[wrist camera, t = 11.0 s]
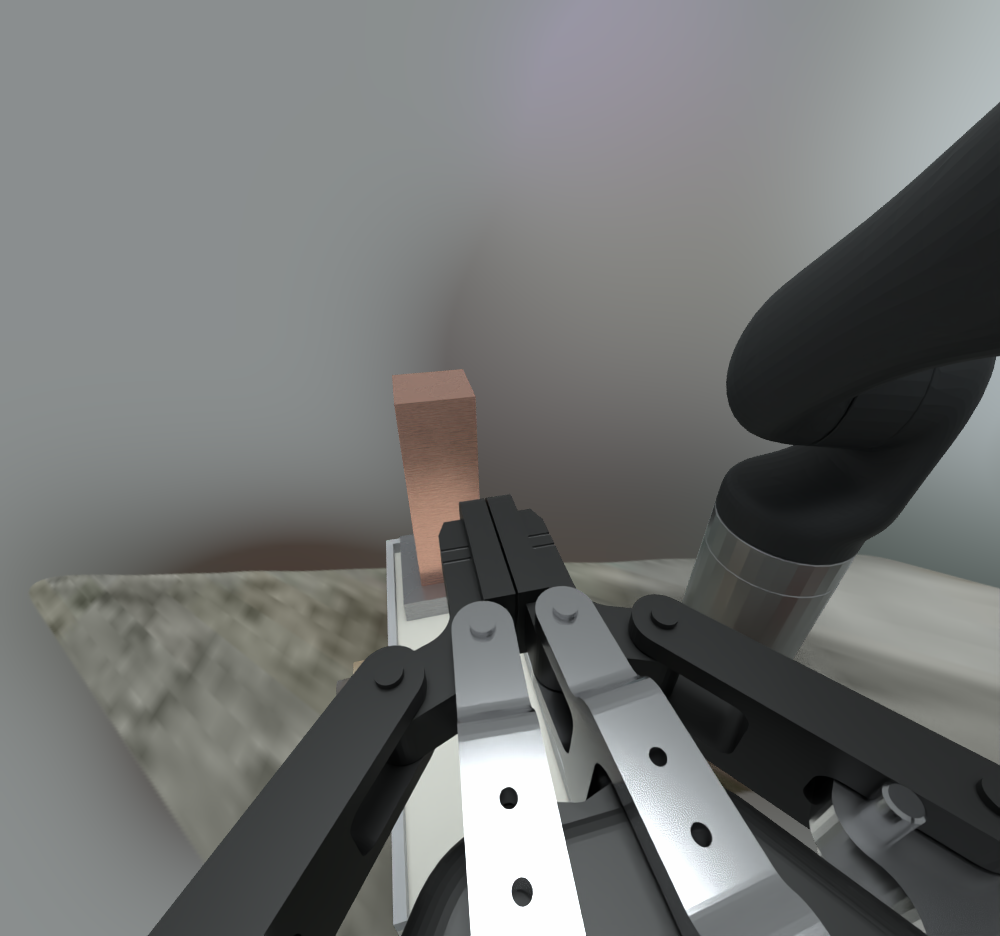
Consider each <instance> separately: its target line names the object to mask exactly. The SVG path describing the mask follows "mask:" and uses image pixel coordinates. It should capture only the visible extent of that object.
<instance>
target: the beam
mask: <svg viewBox="0 0 1000 936" xmlns="http://www.w3.org/2000/svg"><path fill="white" fill-rule="evenodd" d="M386 552H387V553H386V554H387V609H388V646H393V645H400V646H405V647H408V648H411V649H412V650H414V651H415V650H417V649H418V648H420V647H422V646H424V645H426V644H428V643H429V642H431V641H433V640H434V639H435V638H437V637H438V636H439V635H440V634H441V633H442V632H443V630H444V629H445V628H446V626H447V624H448V621H449V618H450V617H449V613H448V614H443V615H437V616H432V617H427V618H422V619H417V620H411V621H407V619H406V614H405V609H404V601H403V584H402V568H401V551H400V538H399V539H393V540H387V541H386ZM520 656H521V661H522V666H523V671H524V676H525V680H526V685H527V690H528V695H529V699H530V703H531V706H532V708H534V709H535V711H536V714H537V717H538V720H539V724H540V729H541V733H542V738H543V742H544V747H545V752H546V756H547V761H548V765H549V770H550V774H551V779H552V784H553V788H554V793H555V797H556V802H572V801H571V798H570V795H569V791H568V788H567V784H566V779H565V772H564V767H563V763H562V759H561V756H560V754H559V751H558V748H557V746H556V743H555V741H554V738H553V735H552V733H551V730H550V728H549V725H548V722H547V720H546V717H545V715H544V712H543V709H542V707H541V704H540V702H539V699H538V697H537V694H536V691H535V689H534V686H533V683H532V679H531V672H532V665H531V662H530V659H529V656H528V652H527V653H522V654H520ZM464 836H465V835H464V820H463V805H462V790H461V775H460V760H459V745H458V734H457V735H455V736H454V737H452V738H451V739H449V740H448V741H446V742H445V743H443V744H442V745H440V746H439V747H437V748H436V749H435V750H434V753H433V755H432V757H431V759H430V761H429V763H428V764H427V766H426V768H425V770H424V772H423V774H422V775H421V777H420V779H419V781H418V783H417V785H416V787H415V788H414V790H413V792H412V794H411V796H410V798H409V800H408V801H407V803H406V805H405V807H404V809H403V811H402V813H401V814H400V816H399V818H398V820H397V822H396V824H395V826H394V827H393V829H392V877H393V925H394V927H395V929H396V931H397V933H398V935H399V936H401V935H402V932H403V930H404V928H405V925H406V923H407V920H408V918H409V916H410V913H411V911H412V909H413V906H414V904H415V902H416V899H417V897H418V895H419V893H420V891H421V889H422V887H423V886H424V884H425V882H426V880H427V878H428V877H429V875H430V874H431V872H432V871H433V869H434V868H435V866H436V865H437V864H438V862H439V861H440V860H441V858H442V857H443V856H444V855H445V854H446V853H447V852H448V851H449V849H450V848H451V847H453V846H454V845H455V844H456V843H457V842H458V841H459V840H460V839H462V838H463V837H464Z"/></svg>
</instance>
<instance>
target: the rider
mask: <svg viewBox="0 0 1000 936" xmlns="http://www.w3.org/2000/svg"><path fill="white" fill-rule="evenodd" d="M392 379H393V393H394V406H395V412H396V419H397V425H398V432H399V439H400V445H401V452H402V459H403V466H404V472H405V479H406V485H407V492H408V499H409V505H410V512H411V519H412V525H413V532H414V534H413V535H407V536H401V537H400V551H401V568H402V584H403V601H404V609H405V614H406V619H407V621H411V620H417V619H422V618H427V617H432V616H437V615H443V614H448V613H449V611H448V604H447V598H446V592H445V585H444V579H443V573H442V564H441V555H440V547H439V538H438V535H439V533H440V530H441V528H442V525H443V523H444V522H449V521H455V520H460V515H459V502H462V501H468V500H475V499H479V477H478V476H479V475H478V450H477V425H476V399H475V395H474V392H473V390H472V388H471V386H470V384H469V382H468V379H467V377H466V375H465V373H464V371H463V369H459V370H448V371H436V372H425V373H413V374H402V375H392Z"/></svg>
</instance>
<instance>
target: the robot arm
mask: <svg viewBox="0 0 1000 936" xmlns="http://www.w3.org/2000/svg"><path fill="white" fill-rule="evenodd" d="M996 356H1000V102H999V103H998V104H997V105H996V106H995V107H994V108H993V109H992V110H991V111H989V112H988V113H987V114H986V115H985V116H984V117H983V118H982V119H981V120H979V121H978V122H977V123H976V124H975V125H974V126H973V127H972V128H971V129H970V130H969V131H967V132H966V133H965V134H964V135H963V136H962V137H961V138H960V139H959V140H957V141H956V142H955V143H954V144H953V145H952V146H951V147H950V148H949V149H948V150H946V151H945V152H944V153H943V154H942V155H941V156H940V157H939V158H938V159H936V160H935V161H934V162H933V163H932V164H931V165H930V166H929V167H928V168H927V169H925V170H924V171H923V172H922V173H921V174H920V175H919V176H918V177H916V179H914V180H913V181H912V182H911V183H910V184H909V185H907V186H906V187H905V188H904V189H903V190H902V191H900V192H899V193H898V194H897V195H896V196H895V197H893V198H892V199H891V200H890V201H889V202H887V203H886V204H885V205H884V206H883V207H881V208H880V209H879V210H878V211H877V212H875V213H874V214H873V215H872V216H871V217H869V218H868V219H867V220H866V221H865V222H863V223H862V224H861V225H859V226H858V227H857V228H856V229H854V230H853V231H852V232H851V233H849V234H848V235H847V236H846V237H844V238H843V239H842V240H840V241H839V242H838V243H837V244H835V245H834V246H833V247H831V248H830V249H829V250H828V251H826V252H825V253H824V254H822V255H821V256H820V257H819V258H817V259H816V260H815V261H813V262H812V263H811V264H810V265H808V266H807V267H806V268H804V269H803V270H802V271H801V272H799V273H798V274H797V275H796V276H794V277H793V278H792V279H791V280H790V281H788V282H787V283H786V284H785V285H783V286H782V287H781V288H780V289H779V290H778V291H777V292H775V293H774V294H773V295H772V296H771V297H770V298H769V299H768V300H767V301H766V302H765V304H764V305H763V306H762V307H761V308H760V309H759V310H758V312H757V313H756V314H755V315H754V317H753V318H752V320H751V321H750V323H749V324H748V325H747V327H746V329H745V330H744V331H743V333H742V335H741V337H740V339H739V341H738V343H737V345H736V347H735V349H734V352H733V354H732V357H731V360H730V363H729V368H728V373H727V381H726V386H727V397H728V402H729V406H730V408H731V411H732V413H733V415H734V417H735V418H736V419H737V420H738V422H739V423H740V424H741V425H742V426H743V427H744V428H745V429H746V430H747V431H749V432H750V433H752V434H754V435H756V436H758V437H760V438H763V439H766V440H769V441H774V442H779V443H784V444H789V445H793V446H791V447H788V448H785V449H782V450H780V451H776V452H772V453H768V454H764V455H760V456H756V457H753V458H749V459H746V460H744V461H742V462H740V463H738V464H736V465H735V466H733V467H732V468H731V469H730V470H729V471H728V472H727V474H726V475H725V477H724V479H723V481H722V484H721V486H720V489H719V492H718V495H717V498H716V501H715V504H714V507H713V510H712V513H711V516H710V519H709V522H708V525H707V529H706V532H705V535H704V538H703V541H702V544H701V547H700V550H699V553H698V556H697V559H696V562H695V564H694V567H693V570H692V573H691V576H690V579H689V582H688V585H687V588H686V591H685V594H684V597H683V600H682V603H681V602H679V601H677V600H675V599H672V598H670V597H667V596H663V595H655V594H654V595H647V596H644V597H641V598H640V599H638V600H637V601H636V602H635V604H634V606H633V608H624V607H613V606H605V605H601V604H597V603H595V602H592V601H591V600H590V598H589V597H588V596H587V595H586V594H584V593H583V592H581V591H579V590H578V589H576V587H575V586H574V584H573V582H572V580H571V578H570V575H569V573H568V571H567V569H566V567H565V565H564V563H563V561H562V559H561V557H560V555H559V553H558V550H557V548H556V546H554V542H553V540H552V538H551V536H550V535H549V532H548V530H547V527H546V525H545V523H544V521H543V519H542V518H541V517H539V516H538V515H537V514H536V513H535V512H533V511H532V510H531V509H527V510H520V511H517V509H516V506H515V504H514V501H513V499H512V496H511V495H502V496H495V497H488V498H485V499H484V498H482V499H475V500H468V501H462V502H459V515H460V520H455V521H449V522H444V523H443V525H442V528H441V530H440V533H439V535H438V538H439V547H440V555H441V564H442V573H443V579H444V585H445V592H446V598H447V604H448V611H449V617H450V618H449V621H448V624H447V626H446V628H445V629H444V630H443V632H442V633H441V634H440V635H439V636H438V637H437V638H435V639H434V640H433V641H431V642H429V643H428V644H426V645H424V646H422V647H420V648H418V649H417V650H415V651H414V650H412V649H411V648H408V647H405V646H400V645H393V646H387V647H384V648H381V649H379V650H377V651H375V652H374V653H372V654H371V655H370V656H368V657H367V658H366V659H365V660H364V661H363V662H362V664H361V665H360V666H359V668H358V669H357V670H356V671H355V673H354V674H353V675H352V676H351V678H350V679H349V680H348V682H347V683H346V684H345V685H344V687H343V688H342V689H341V690H340V692H339V693H338V694H337V696H336V697H335V698H334V699H333V701H332V702H331V703H330V704H329V706H328V707H327V708H326V710H325V711H324V712H323V713H322V715H321V716H320V717H319V718H318V720H317V721H316V722H315V724H314V725H313V726H312V727H311V729H310V730H309V731H308V732H307V734H306V735H305V736H304V738H303V739H302V740H301V741H300V743H299V744H298V745H297V746H296V748H295V749H294V750H293V752H292V753H291V754H290V755H289V757H288V758H287V759H286V760H285V762H284V763H283V764H282V766H281V767H280V768H279V769H278V771H277V772H276V773H275V774H274V776H273V777H272V778H271V780H270V781H269V782H268V783H267V785H266V786H265V787H264V788H263V790H262V791H261V792H260V794H259V795H258V796H257V797H256V799H255V800H254V801H253V802H252V804H251V805H250V806H249V808H248V809H247V810H246V811H245V813H244V814H243V815H242V816H241V818H240V819H239V820H238V822H237V823H236V824H235V825H234V827H233V828H232V829H231V830H230V832H229V833H228V834H227V836H226V837H225V838H224V839H223V841H222V842H221V843H220V844H219V846H218V847H217V848H216V850H215V851H214V852H213V853H212V855H211V856H210V857H209V858H208V860H207V861H206V862H205V864H204V865H203V866H202V867H201V869H200V870H199V871H198V873H197V874H196V875H195V876H194V878H193V879H192V880H191V882H190V883H189V884H188V885H187V886H186V888H185V889H184V890H183V892H182V893H181V894H180V895H179V897H178V898H177V899H176V900H175V902H174V903H173V904H172V906H171V907H170V908H169V909H168V911H167V912H166V913H165V915H164V916H163V917H162V918H161V920H160V921H159V922H158V923H157V925H156V926H155V927H154V928H153V930H152V931H151V932H150V934H149V935H148V936H335V935H336V933H337V931H338V929H339V928H340V926H341V924H342V922H343V920H344V918H345V916H346V915H347V913H348V911H349V909H350V907H351V905H352V903H353V902H354V900H355V898H356V896H357V894H358V892H359V890H360V889H361V887H362V885H363V883H364V881H365V879H366V877H367V876H368V874H369V872H370V870H371V868H372V866H373V865H374V863H375V861H376V859H377V857H378V855H379V853H380V852H381V850H382V848H383V846H384V844H385V842H386V840H387V839H388V837H389V835H390V833H391V831H392V829H393V827H394V826H395V824H396V822H397V820H398V818H399V816H400V814H401V813H402V811H403V809H404V807H405V805H406V803H407V801H408V800H409V798H410V796H411V794H412V792H413V790H414V788H415V787H416V785H417V783H418V781H419V779H420V777H421V775H422V774H423V772H424V770H425V768H426V766H427V764H428V763H429V761H430V759H431V757H432V755H433V753H434V750H435V749H436V748H437V747H439V746H440V745H442V744H443V743H445V742H446V741H448V740H449V739H451V738H452V737H454V736H455V735H457V734H458V745H459V760H460V775H461V790H462V805H463V820H464V835H465V836H464V837H463V838H462V839H460V840H459V841H458V842H457V843H456V844H455V845H454V846H453V847H451V848H450V849H449V851H448V852H447V853H446V854H445V855H444V856H443V857H442V858H441V860H440V861H439V862H438V864H437V865H436V866H435V868H434V869H433V871H432V872H431V874H430V875H429V877H428V878H427V880H426V882H425V884H424V886H423V887H422V889H421V891H420V893H419V895H418V897H417V899H416V902H415V904H414V906H413V909H412V911H411V913H410V916H409V918H408V920H407V923H406V925H405V928H404V930H403V932H402V935H401V936H1000V765H998V764H996V763H994V762H992V761H990V760H988V759H986V758H984V757H982V756H980V755H979V754H977V753H975V752H973V751H971V750H969V749H967V748H965V747H963V746H961V745H959V744H957V743H955V742H953V741H951V740H949V739H947V738H945V737H943V736H941V735H939V734H937V733H935V732H933V731H931V730H930V729H928V728H926V727H924V726H922V725H920V724H918V723H916V722H914V721H912V720H910V719H908V718H906V717H904V716H902V715H900V714H898V713H896V712H894V711H892V710H890V709H888V708H886V707H884V706H882V705H881V704H879V703H877V702H875V701H873V700H871V699H869V698H867V697H865V696H863V695H861V694H859V693H857V692H855V691H853V690H851V689H849V688H847V687H845V686H843V685H841V684H839V683H837V682H835V681H833V680H832V679H830V678H828V677H826V676H824V675H822V674H820V673H818V672H816V671H814V670H812V669H810V668H808V667H806V666H804V665H802V664H800V663H798V662H796V661H794V660H793V658H794V657H795V655H796V653H797V652H798V650H799V648H800V647H801V645H802V644H803V642H804V640H805V639H806V637H807V635H808V634H809V632H810V630H811V629H812V627H813V626H814V624H815V622H816V621H817V619H818V617H819V616H820V614H821V613H822V611H823V609H824V608H825V606H826V604H827V603H828V601H829V599H830V598H831V596H832V595H833V593H834V591H835V590H836V588H837V586H838V585H839V583H840V581H841V579H842V578H843V576H844V574H845V573H846V571H847V569H848V568H849V566H850V565H851V563H852V561H853V560H854V558H855V556H856V555H857V553H858V551H859V550H860V548H861V547H862V545H863V544H864V542H865V541H866V540H868V539H870V538H871V537H873V536H875V535H877V534H879V533H880V532H882V531H883V530H885V529H886V528H887V527H888V526H889V525H890V524H892V523H893V521H894V520H895V519H896V518H897V517H898V515H899V514H900V513H901V512H902V510H903V509H904V508H905V506H906V505H907V503H908V502H909V501H910V499H911V498H912V497H913V495H914V494H915V493H916V491H917V490H918V488H919V487H920V486H921V484H922V483H923V482H924V480H925V479H926V477H927V476H928V475H929V474H930V472H931V471H932V470H933V468H934V467H935V466H936V464H937V463H938V462H939V460H940V459H941V458H942V457H943V455H944V454H945V452H946V451H947V450H948V449H949V447H950V446H951V445H952V443H953V442H954V440H955V439H956V438H957V436H958V435H959V433H960V432H961V431H962V429H963V428H964V426H965V425H966V423H967V422H968V420H969V418H970V417H971V415H972V414H973V411H974V410H975V408H976V407H977V405H978V404H979V402H980V400H981V398H982V396H983V394H984V392H985V389H986V387H987V385H988V382H989V380H990V378H991V375H992V372H993V369H994V364H995V360H996ZM527 652H528V656H529V659H530V662H531V665H532V672H531V679H532V683H533V686H534V689H535V691H536V694H537V697H538V699H539V702H540V704H541V707H542V709H543V712H544V715H545V717H546V720H547V722H548V725H549V728H550V730H551V733H552V735H553V738H554V741H555V743H556V746H557V748H558V751H559V754H560V756H561V759H562V763H563V767H564V772H565V779H566V784H567V788H568V791H569V795H570V798H571V801H572V802H556V797H555V793H554V788H553V784H552V779H551V774H550V770H549V765H548V761H547V756H546V752H545V747H544V742H543V738H542V733H541V729H540V724H539V720H538V717H537V714H536V711H535V709H534V708H532V706H531V703H530V699H529V695H528V690H527V685H526V680H525V676H524V671H523V666H522V661H521V656H520V654H522V653H527ZM705 759H707V760H708V761H710V762H711V763H713V764H714V765H716V766H717V767H719V768H720V769H722V770H723V771H724V772H726V773H727V774H729V775H730V776H732V777H733V778H735V779H736V780H738V781H739V782H741V783H742V784H744V785H745V786H747V787H748V788H749V789H751V790H752V791H754V792H755V793H757V794H758V795H760V796H761V797H763V798H764V799H766V800H767V801H769V802H770V803H772V804H773V805H775V806H776V807H777V808H779V809H780V810H782V811H783V812H785V813H786V814H788V815H789V816H791V817H792V818H794V819H795V820H797V821H798V822H800V823H801V824H803V825H804V826H805V827H807V828H808V829H810V830H811V833H812V836H813V839H814V841H815V843H816V845H817V851H818V854H817V853H815V852H814V851H813V850H811V849H810V848H808V847H807V846H806V845H804V844H803V843H802V842H800V841H799V840H798V839H796V838H795V837H794V836H792V835H791V834H789V833H788V832H787V831H785V830H784V829H783V828H781V827H780V826H778V825H777V824H776V823H774V822H773V821H772V820H770V819H769V818H768V817H766V816H765V815H764V814H762V813H761V812H759V811H758V810H757V809H755V808H754V807H753V806H751V805H750V804H749V803H747V802H746V801H744V800H743V799H742V798H740V797H739V796H737V795H736V794H734V793H732V792H731V791H729V790H727V789H725V788H724V787H722V785H721V783H720V782H719V780H718V779H717V777H716V775H715V774H714V772H713V771H712V769H711V768H710V766H709V764H708V763H707V761H706V760H705Z"/></svg>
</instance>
